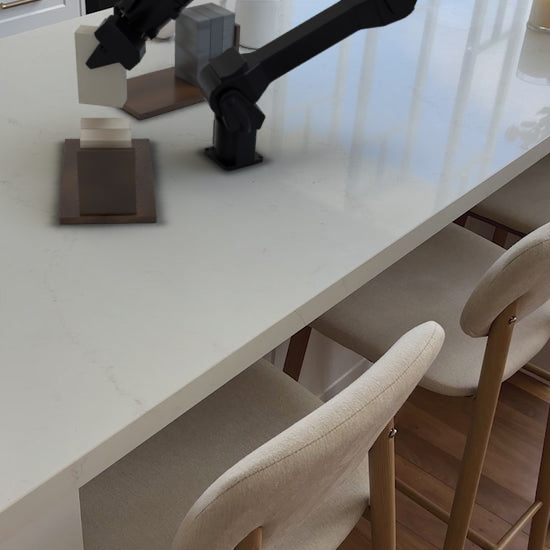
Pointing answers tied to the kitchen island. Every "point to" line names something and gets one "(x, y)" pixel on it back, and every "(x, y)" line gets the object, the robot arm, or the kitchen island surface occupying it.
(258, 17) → the mug
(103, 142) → the brown wooden stand
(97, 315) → the kitchen island surface
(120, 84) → the white book
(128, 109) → the bookend
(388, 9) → the robot arm
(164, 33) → the egg
